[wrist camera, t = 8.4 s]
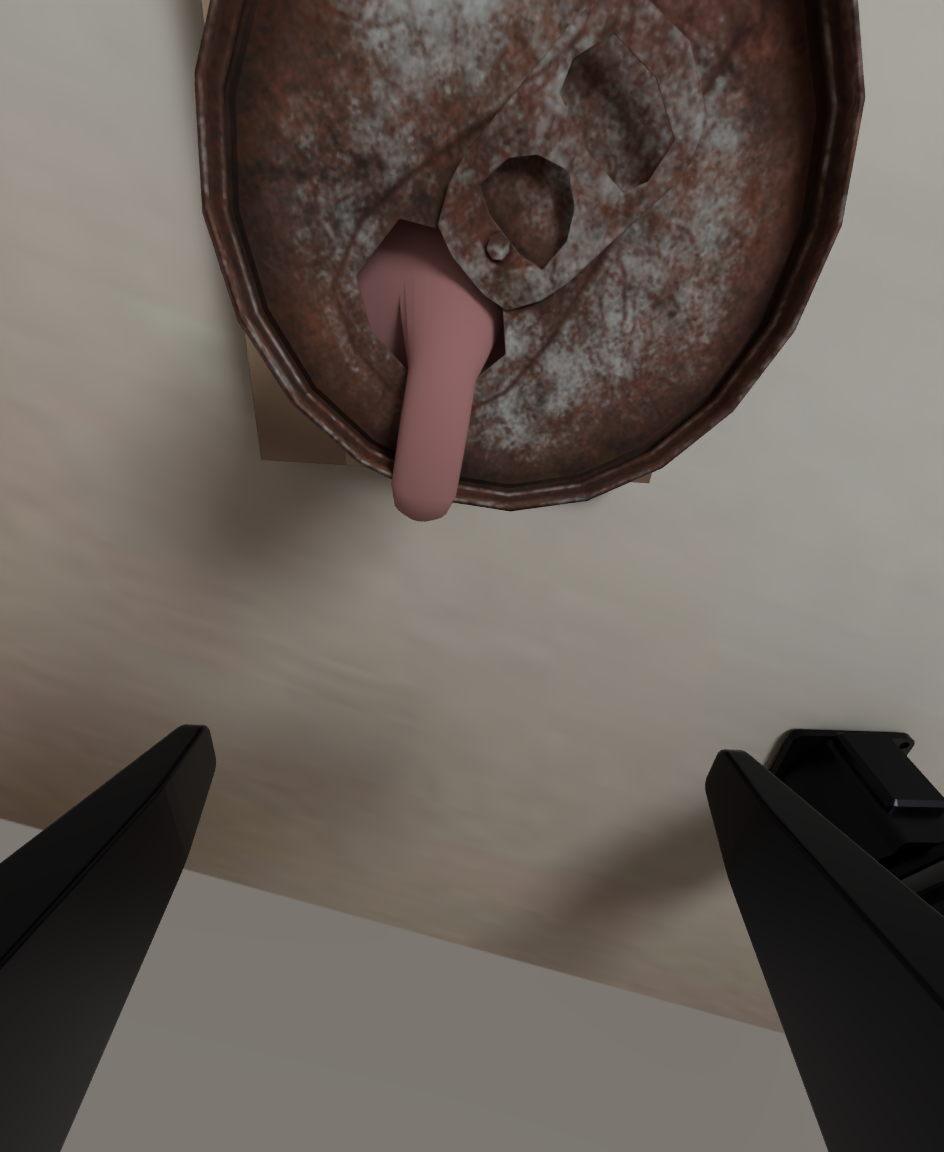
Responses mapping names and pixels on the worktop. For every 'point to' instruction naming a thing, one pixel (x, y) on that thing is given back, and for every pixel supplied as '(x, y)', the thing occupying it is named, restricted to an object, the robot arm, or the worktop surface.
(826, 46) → the can
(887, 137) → the worktop surface
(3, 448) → the worktop surface
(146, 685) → the worktop surface
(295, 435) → the socket block
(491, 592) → the worktop surface
